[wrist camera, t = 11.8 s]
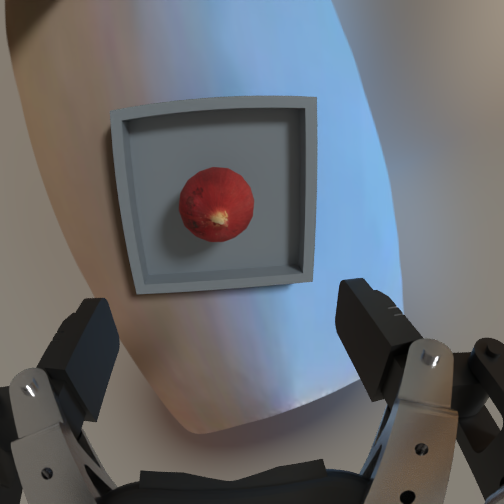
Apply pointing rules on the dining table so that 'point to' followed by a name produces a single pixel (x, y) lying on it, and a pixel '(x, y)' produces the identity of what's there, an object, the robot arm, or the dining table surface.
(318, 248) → the dining table surface
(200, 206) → the onion
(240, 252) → the tray
